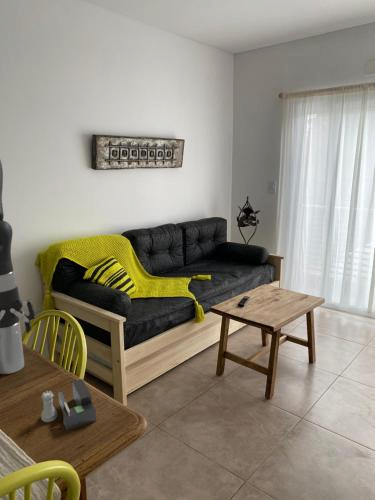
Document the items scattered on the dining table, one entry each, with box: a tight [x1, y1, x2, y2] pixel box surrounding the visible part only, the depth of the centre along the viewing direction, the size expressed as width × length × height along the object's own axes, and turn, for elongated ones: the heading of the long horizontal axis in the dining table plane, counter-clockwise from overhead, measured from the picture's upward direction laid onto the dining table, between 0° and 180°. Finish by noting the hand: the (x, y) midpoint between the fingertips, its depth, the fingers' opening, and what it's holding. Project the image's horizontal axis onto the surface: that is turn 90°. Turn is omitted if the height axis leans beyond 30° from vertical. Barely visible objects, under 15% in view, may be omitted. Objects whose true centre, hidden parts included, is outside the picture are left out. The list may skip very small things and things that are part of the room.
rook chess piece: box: [40, 390, 58, 423], centre depth 111 cm, size 4×4×8 cm
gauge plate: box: [57, 391, 70, 413], centre depth 112 cm, size 11×1×4 cm, turn 30°
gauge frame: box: [62, 378, 97, 431], centre depth 114 cm, size 14×8×6 cm, turn 30°
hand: (13, 335), depth 123 cm, fingers open, 8 cm apart
